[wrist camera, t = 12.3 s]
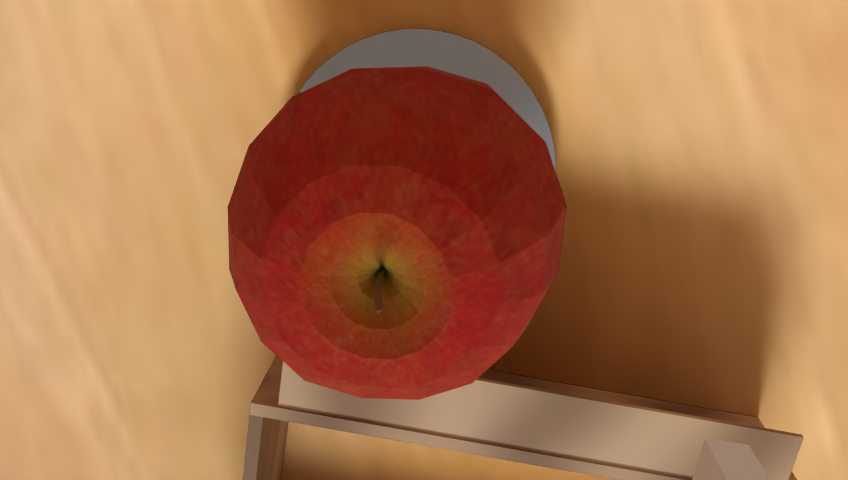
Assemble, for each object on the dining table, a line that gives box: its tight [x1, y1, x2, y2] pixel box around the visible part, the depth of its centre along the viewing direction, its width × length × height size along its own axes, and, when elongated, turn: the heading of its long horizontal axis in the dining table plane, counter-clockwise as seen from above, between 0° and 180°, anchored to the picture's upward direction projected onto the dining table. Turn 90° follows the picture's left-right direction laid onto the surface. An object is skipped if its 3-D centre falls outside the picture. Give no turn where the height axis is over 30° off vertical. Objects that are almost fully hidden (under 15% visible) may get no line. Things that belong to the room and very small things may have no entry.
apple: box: [228, 66, 566, 400], centre depth 26 cm, size 10×10×14 cm
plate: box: [298, 29, 556, 169], centre depth 33 cm, size 11×11×1 cm
